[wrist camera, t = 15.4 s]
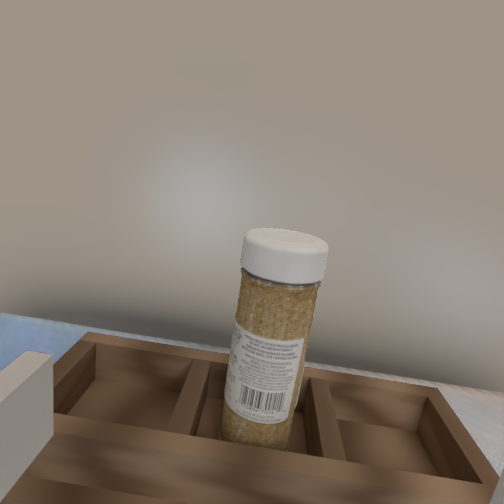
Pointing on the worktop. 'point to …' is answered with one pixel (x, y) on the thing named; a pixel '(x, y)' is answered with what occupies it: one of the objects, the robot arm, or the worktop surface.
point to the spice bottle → (271, 335)
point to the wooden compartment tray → (234, 454)
